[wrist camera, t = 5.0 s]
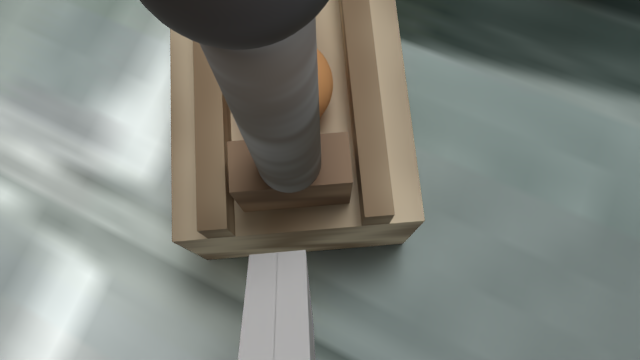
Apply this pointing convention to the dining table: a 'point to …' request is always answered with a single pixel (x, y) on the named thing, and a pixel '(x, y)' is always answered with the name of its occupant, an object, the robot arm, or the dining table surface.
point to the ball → (324, 82)
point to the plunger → (268, 98)
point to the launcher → (340, 116)
